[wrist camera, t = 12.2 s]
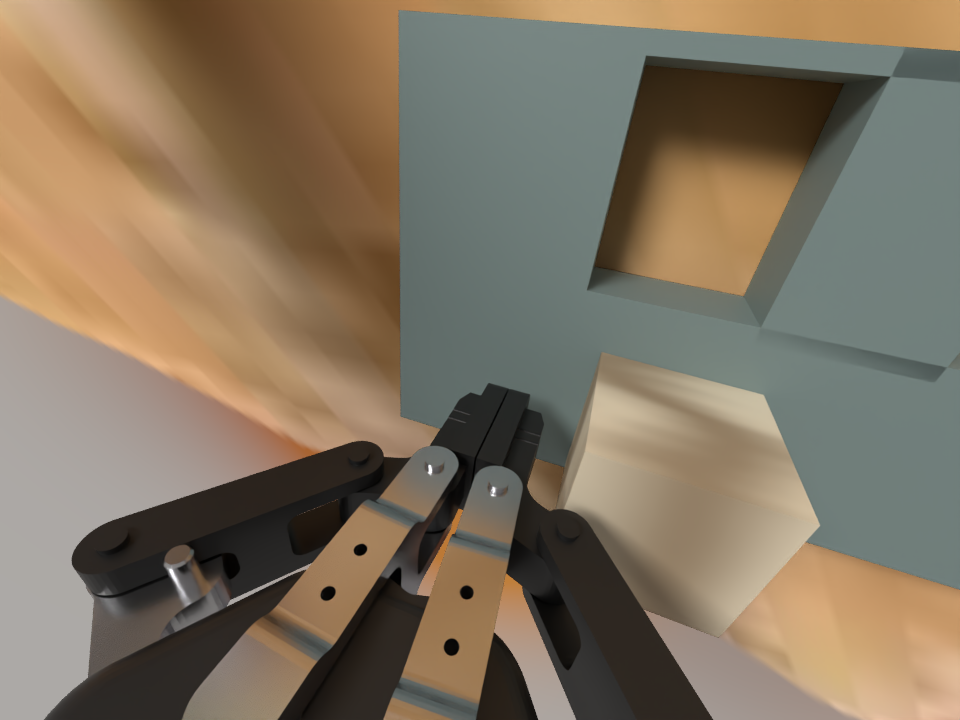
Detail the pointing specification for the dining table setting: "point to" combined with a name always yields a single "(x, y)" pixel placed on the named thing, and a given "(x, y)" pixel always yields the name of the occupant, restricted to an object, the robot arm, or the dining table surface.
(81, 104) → the dining table surface
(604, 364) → the block
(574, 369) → the box
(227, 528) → the robot arm
